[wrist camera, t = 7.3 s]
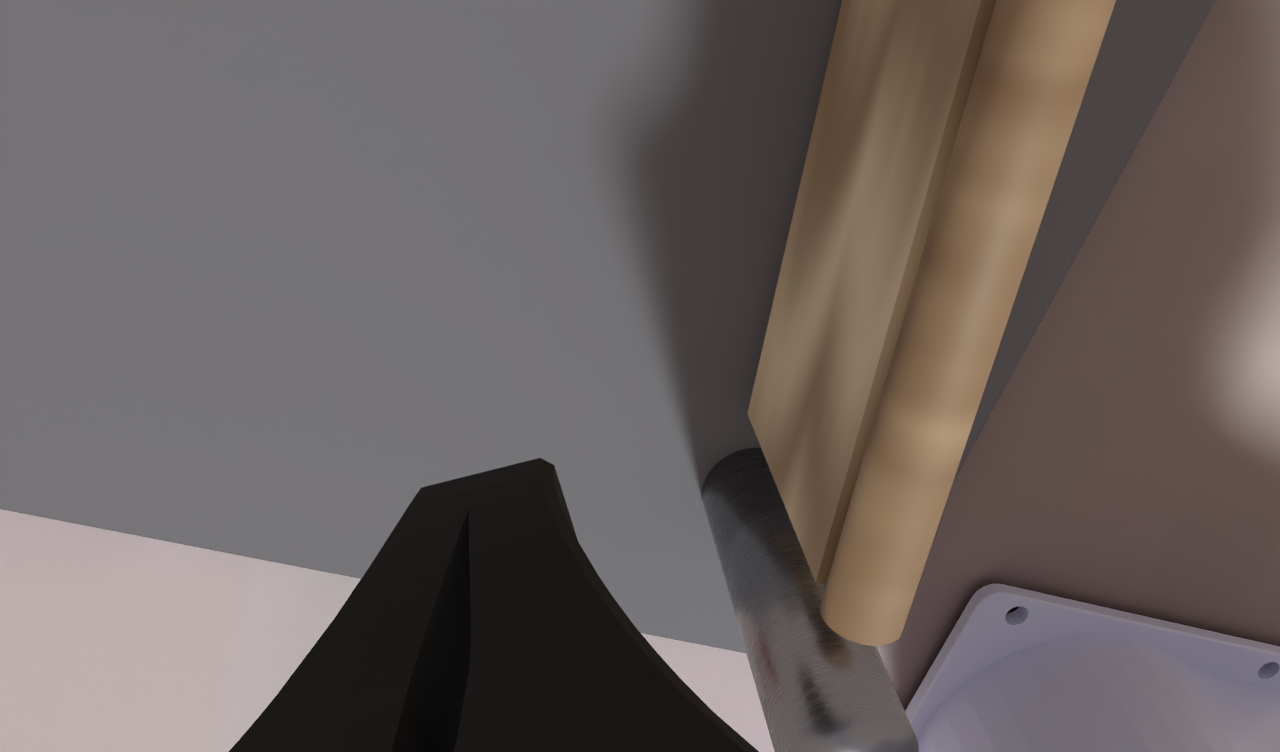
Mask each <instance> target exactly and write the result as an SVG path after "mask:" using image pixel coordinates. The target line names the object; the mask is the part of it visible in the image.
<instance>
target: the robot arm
mask: <svg viewBox="0 0 1280 752" xmlns="http://www.w3.org/2000/svg"><path fill="white" fill-rule="evenodd" d="M1018 606H1019V607H1018ZM1014 607H1018V608H1017V609H1016V611H1013V612H1011V613H1007V612H1008V611H1009V610H1010V609H1012V608H1014ZM905 713H906V715H907V717H908V720H909V722H910V724H911V726H912V729H913V731H914V733H915V735H916V738H917V740H918V746H919V752H1280V646H1275V645H1271V644H1266V643H1262V642H1257V641H1253V640H1249V639H1244V638H1240V637H1235V636H1231V635H1226V634H1222V633H1217V632H1213V631H1209V630H1204V629H1200V628H1195V627H1191V626H1186V625H1182V624H1177V623H1173V622H1169V621H1164V620H1160V619H1155V618H1151V617H1146V616H1142V615H1137V614H1133V613H1129V612H1124V611H1120V610H1115V609H1111V608H1106V607H1102V606H1097V605H1093V604H1089V603H1084V602H1080V601H1075V600H1071V599H1066V598H1062V597H1057V596H1053V595H1049V594H1044V593H1040V592H1035V591H1031V590H1026V589H1022V588H1017V587H1013V586H1009V585H1004V584H990V585H986V586H984V587H982V588H980V589H979V590H977V591H976V593H975V594H974V595H973V596H972V597H971V599H970V601H969V602H968V604H967V606H966V608H965V609H964V611H963V613H962V614H961V616H960V618H959V620H958V621H957V623H956V625H955V626H954V628H953V630H952V632H951V633H950V635H949V637H948V638H947V640H946V642H945V644H944V645H943V647H942V649H941V650H940V652H939V654H938V656H937V657H936V659H935V661H934V662H933V664H932V666H931V668H930V669H929V671H928V673H927V674H926V676H925V678H924V679H923V681H922V683H921V685H920V686H919V688H918V690H917V691H916V693H915V695H914V697H913V698H912V700H911V702H910V703H909V705H908V707H907V709H906V710H905ZM229 752H759V751H757V750H756V749H755V748H754V747H753V746H752V745H750V744H749V743H748V742H747V741H746V740H745V739H744V738H742V737H741V736H740V735H739V734H738V733H737V732H736V731H734V730H733V729H732V728H731V727H730V726H729V725H727V724H726V723H725V722H724V721H723V720H722V719H721V718H719V717H718V716H717V715H716V714H715V713H714V712H713V711H712V710H711V709H710V708H709V707H708V706H707V705H706V704H705V703H704V702H703V701H702V700H701V699H700V698H699V697H698V696H697V695H696V694H695V693H694V692H693V691H692V690H691V689H690V688H689V687H688V686H687V685H686V684H685V683H684V682H683V681H682V680H681V679H680V678H679V677H678V676H677V675H676V673H675V672H674V671H673V670H672V669H671V668H670V667H669V666H668V665H667V663H666V662H665V661H664V660H663V659H662V658H661V657H660V656H659V655H658V653H657V652H656V651H655V650H654V649H653V648H652V646H651V645H650V644H649V643H648V642H647V640H646V639H645V638H644V637H643V636H642V634H641V633H640V632H639V631H638V629H637V628H636V627H635V626H634V624H633V623H632V622H631V621H630V619H629V618H628V616H627V615H626V614H625V612H624V611H623V610H622V608H621V607H620V606H619V604H618V603H617V602H616V600H615V599H614V597H613V596H612V595H611V593H610V592H609V590H608V589H607V587H606V586H605V584H604V583H603V581H602V580H601V578H600V577H599V575H598V574H597V572H596V571H595V569H594V567H593V566H592V564H591V562H590V560H589V559H588V557H587V555H586V554H585V552H584V550H583V549H582V547H581V545H580V544H579V542H578V539H577V536H576V533H575V530H574V527H573V524H572V520H571V517H570V514H569V511H568V508H567V504H566V501H565V498H564V495H563V492H562V489H561V485H560V482H559V479H558V476H557V473H556V469H555V466H554V465H553V464H551V463H549V462H547V461H546V460H544V459H542V458H537V459H533V460H529V461H525V462H521V463H517V464H513V465H509V466H505V467H501V468H497V469H493V470H489V471H485V472H481V473H477V474H473V475H469V476H465V477H461V478H457V479H453V480H449V481H445V482H442V483H438V484H434V485H430V486H426V487H422V488H421V489H420V490H419V491H418V493H417V494H416V496H415V497H414V499H413V500H412V502H411V503H410V505H409V506H408V508H407V509H406V511H405V512H404V514H403V515H402V517H401V519H400V520H399V522H398V523H397V525H396V526H395V528H394V529H393V531H392V532H391V534H390V536H389V537H388V539H387V540H386V542H385V543H384V545H383V546H382V548H381V550H380V551H379V553H378V554H377V556H376V557H375V559H374V560H373V562H372V563H371V565H370V567H369V568H368V570H367V571H366V573H365V574H364V576H363V577H362V579H361V580H360V582H359V583H358V585H357V586H356V588H355V589H354V591H353V592H352V594H351V595H350V597H349V598H348V599H347V601H346V602H345V604H344V605H343V607H342V608H341V610H340V611H339V613H338V614H337V616H336V617H335V619H334V620H333V621H332V623H331V624H330V625H329V627H328V628H327V629H326V631H325V632H324V633H323V635H322V636H321V637H320V639H319V640H318V641H317V643H316V644H315V645H314V647H313V648H312V649H311V651H310V652H309V653H308V655H307V656H306V657H305V659H304V660H303V661H302V663H301V664H300V665H299V666H298V668H297V669H296V670H295V672H294V673H293V674H292V676H291V677H290V678H289V680H288V681H287V682H286V684H285V685H284V686H283V688H282V689H281V690H280V692H279V693H278V694H277V696H276V697H275V698H274V699H273V701H272V702H271V703H270V704H269V705H268V707H267V708H266V709H265V710H264V712H263V713H262V714H261V715H260V716H259V718H258V719H257V720H256V721H255V722H254V723H253V725H252V726H251V727H250V728H249V729H248V730H247V732H246V733H245V734H244V735H243V736H242V737H241V739H240V740H239V741H238V742H237V743H236V744H235V745H234V746H233V748H232V749H231V750H230V751H229Z"/></svg>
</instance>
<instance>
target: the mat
mask: <svg viewBox="0 0 1280 752" xmlns="http://www.w3.org/2000/svg"><path fill="white" fill-rule="evenodd" d="M1214 1H1215V0H1116V2H1115V5H1114V8H1113V11H1112V14H1111V17H1110V20H1109V23H1108V26H1107V29H1106V32H1105V34H1104V37H1103V40H1102V43H1101V46H1100V49H1099V52H1098V55H1097V58H1096V61H1095V64H1094V67H1093V70H1092V73H1091V76H1090V79H1089V82H1088V85H1087V88H1086V91H1085V94H1084V97H1083V100H1082V102H1081V105H1080V108H1079V111H1078V114H1077V117H1076V120H1075V123H1074V126H1073V129H1072V132H1071V135H1070V138H1069V141H1068V144H1067V147H1066V150H1065V153H1064V156H1063V159H1062V162H1061V165H1060V168H1059V170H1058V173H1057V176H1056V179H1055V182H1054V185H1053V188H1052V191H1051V194H1050V197H1049V200H1048V203H1047V206H1046V209H1045V212H1044V215H1043V218H1042V221H1041V224H1040V227H1039V230H1038V233H1037V235H1036V238H1035V241H1034V244H1033V247H1032V250H1031V253H1030V256H1029V259H1028V262H1027V265H1026V268H1025V271H1024V274H1023V277H1022V280H1021V283H1020V286H1019V289H1018V292H1017V295H1016V298H1015V301H1014V303H1013V306H1012V309H1011V312H1010V315H1009V318H1008V321H1007V324H1006V327H1005V330H1004V333H1003V336H1002V339H1001V342H1000V345H999V348H998V351H997V354H996V357H995V360H994V363H993V366H992V368H991V371H990V374H989V377H988V380H987V383H986V386H985V389H984V392H983V395H982V398H981V401H980V404H979V407H978V410H977V413H976V416H975V419H974V422H973V425H972V428H971V431H970V434H969V436H968V439H967V442H966V445H965V448H964V451H963V454H962V457H961V460H960V463H959V466H958V469H957V472H956V475H957V473H958V472H959V470H960V468H961V466H962V464H963V462H964V461H965V459H966V457H967V455H968V453H969V451H970V450H971V448H972V446H973V444H974V442H975V440H976V439H977V437H978V435H979V433H980V431H981V429H982V427H983V426H984V424H985V422H986V420H987V418H988V416H989V415H990V413H991V411H992V409H993V407H994V405H995V404H996V402H997V400H998V398H999V396H1000V394H1001V393H1002V391H1003V389H1004V387H1005V385H1006V383H1007V382H1008V380H1009V378H1010V376H1011V374H1012V372H1013V371H1014V369H1015V367H1016V365H1017V363H1018V361H1019V359H1020V358H1021V356H1022V354H1023V352H1024V350H1025V348H1026V347H1027V345H1028V343H1029V341H1030V339H1031V337H1032V336H1033V334H1034V332H1035V330H1036V328H1037V326H1038V325H1039V323H1040V321H1041V319H1042V317H1043V315H1044V314H1045V312H1046V310H1047V308H1048V306H1049V304H1050V303H1051V301H1052V299H1053V297H1054V295H1055V293H1056V291H1057V290H1058V288H1059V286H1060V284H1061V282H1062V280H1063V279H1064V277H1065V275H1066V273H1067V271H1068V269H1069V268H1070V266H1071V264H1072V262H1073V260H1074V258H1075V257H1076V255H1077V253H1078V251H1079V249H1080V247H1081V246H1082V244H1083V242H1084V240H1085V238H1086V236H1087V235H1088V233H1089V231H1090V229H1091V227H1092V225H1093V223H1094V222H1095V220H1096V218H1097V216H1098V214H1099V212H1100V211H1101V209H1102V207H1103V205H1104V203H1105V201H1106V200H1107V198H1108V196H1109V194H1110V192H1111V190H1112V189H1113V187H1114V185H1115V183H1116V181H1117V179H1118V178H1119V176H1120V174H1121V172H1122V170H1123V168H1124V167H1125V165H1126V163H1127V161H1128V159H1129V157H1130V155H1131V154H1132V152H1133V150H1134V148H1135V146H1136V144H1137V143H1138V141H1139V139H1140V137H1141V135H1142V133H1143V132H1144V130H1145V128H1146V126H1147V124H1148V122H1149V121H1150V119H1151V117H1152V115H1153V113H1154V111H1155V110H1156V108H1157V106H1158V104H1159V102H1160V100H1161V99H1162V97H1163V95H1164V93H1165V91H1166V89H1167V87H1168V86H1169V84H1170V82H1171V80H1172V78H1173V76H1174V75H1175V73H1176V71H1177V69H1178V67H1179V65H1180V64H1181V62H1182V60H1183V58H1184V56H1185V54H1186V53H1187V51H1188V49H1189V47H1190V45H1191V43H1192V42H1193V40H1194V38H1195V36H1196V34H1197V32H1198V31H1199V29H1200V27H1201V25H1202V23H1203V21H1204V19H1205V18H1206V16H1207V14H1208V12H1209V10H1210V8H1211V7H1212V5H1213V3H1214ZM841 4H842V0H0V509H3V510H8V511H14V512H19V513H24V514H29V515H34V516H39V517H45V518H50V519H55V520H60V521H65V522H70V523H76V524H81V525H86V526H91V527H96V528H101V529H107V530H112V531H117V532H122V533H127V534H132V535H138V536H143V537H148V538H153V539H158V540H163V541H169V542H174V543H179V544H184V545H189V546H194V547H200V548H205V549H210V550H215V551H220V552H225V553H231V554H236V555H241V556H246V557H251V558H257V559H262V560H267V561H272V562H277V563H282V564H288V565H293V566H298V567H303V568H308V569H313V570H319V571H324V572H329V573H334V574H339V575H344V576H350V577H355V578H360V579H362V577H363V576H364V574H365V573H366V571H367V570H368V568H369V567H370V565H371V563H372V562H373V560H374V559H375V557H376V556H377V554H378V553H379V551H380V550H381V548H382V546H383V545H384V543H385V542H386V540H387V539H388V537H389V536H390V534H391V532H392V531H393V529H394V528H395V526H396V525H397V523H398V522H399V520H400V519H401V517H402V515H403V514H404V512H405V511H406V509H407V508H408V506H409V505H410V503H411V502H412V500H413V499H414V497H415V496H416V494H417V493H418V491H419V490H420V489H421V488H422V487H426V486H430V485H434V484H438V483H442V482H445V481H449V480H453V479H457V478H461V477H465V476H469V475H473V474H477V473H481V472H485V471H489V470H493V469H497V468H501V467H505V466H509V465H513V464H517V463H521V462H525V461H529V460H533V459H537V458H542V459H544V460H546V461H547V462H549V463H551V464H553V465H554V466H555V469H556V473H557V476H558V479H559V482H560V485H561V489H562V492H563V495H564V498H565V501H566V504H567V508H568V511H569V514H570V517H571V520H572V524H573V527H574V530H575V533H576V536H577V539H578V542H579V544H580V545H581V547H582V549H583V550H584V552H585V554H586V555H587V557H588V559H589V560H590V562H591V564H592V566H593V567H594V569H595V571H596V572H597V574H598V575H599V577H600V578H601V580H602V581H603V583H604V584H605V586H606V587H607V589H608V590H609V592H610V593H611V595H612V596H613V597H614V599H615V600H616V602H617V603H618V604H619V606H620V607H621V608H622V610H623V611H624V612H625V614H626V615H627V616H628V618H629V619H630V621H631V622H632V623H633V624H634V626H635V627H636V628H637V629H638V631H639V632H640V633H644V634H649V635H655V636H660V637H665V638H670V639H675V640H680V641H686V642H691V643H696V644H701V645H706V646H711V647H717V648H722V649H727V650H732V651H737V652H742V653H746V650H745V646H744V643H743V639H742V636H741V632H740V629H739V625H738V622H737V619H736V615H735V612H734V608H733V605H732V601H731V598H730V594H729V591H728V587H727V584H726V581H725V577H724V574H723V570H722V567H721V563H720V560H719V556H718V553H717V549H716V546H715V542H714V539H713V536H712V532H711V529H710V525H709V522H708V518H707V515H706V511H705V508H704V504H703V500H702V489H703V485H704V482H705V479H706V477H707V475H708V474H709V472H710V471H711V469H712V468H713V467H714V466H715V465H716V464H717V463H718V462H719V461H720V460H722V459H723V458H725V457H726V456H728V455H730V454H732V453H734V452H737V451H740V450H743V449H748V448H761V446H760V444H759V441H758V439H757V436H756V434H755V431H754V429H753V426H752V424H751V422H750V419H749V417H748V414H747V413H748V409H749V404H750V400H751V396H752V391H753V387H754V383H755V378H756V374H757V370H758V365H759V361H760V357H761V352H762V348H763V343H764V339H765V335H766V330H767V326H768V322H769V317H770V313H771V309H772V304H773V300H774V296H775V291H776V287H777V282H778V278H779V274H780V269H781V265H782V261H783V256H784V252H785V248H786V243H787V239H788V235H789V230H790V226H791V222H792V217H793V213H794V208H795V204H796V200H797V195H798V191H799V187H800V182H801V178H802V174H803V169H804V165H805V161H806V156H807V152H808V147H809V143H810V139H811V134H812V130H813V126H814V121H815V117H816V113H817V108H818V104H819V100H820V95H821V91H822V87H823V82H824V78H825V73H826V69H827V65H828V60H829V56H830V52H831V47H832V43H833V39H834V34H835V30H836V26H837V21H838V17H839V12H840V8H841ZM956 475H955V477H956ZM954 479H955V478H954Z"/></svg>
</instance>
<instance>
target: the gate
mask: <svg viewBox="0 0 1280 752" xmlns="http://www.w3.org/2000/svg"><path fill="white" fill-rule="evenodd" d="M1115 2H1116V0H842V4H841V8H840V12H839V17H838V21H837V26H836V30H835V34H834V39H833V43H832V47H831V52H830V56H829V60H828V65H827V69H826V73H825V78H824V82H823V87H822V91H821V95H820V100H819V104H818V108H817V113H816V117H815V121H814V126H813V130H812V134H811V139H810V143H809V147H808V152H807V156H806V161H805V165H804V169H803V174H802V178H801V182H800V187H799V191H798V195H797V200H796V204H795V208H794V213H793V217H792V222H791V226H790V230H789V235H788V239H787V243H786V248H785V252H784V256H783V261H782V265H781V269H780V274H779V278H778V282H777V287H776V291H775V296H774V300H773V304H772V309H771V313H770V317H769V322H768V326H767V330H766V335H765V339H764V343H763V348H762V352H761V357H760V361H759V365H758V370H757V374H756V378H755V383H754V387H753V391H752V396H751V400H750V404H749V409H748V413H747V414H748V417H749V419H750V422H751V424H752V426H753V429H754V431H755V434H756V436H757V439H758V441H759V444H760V446H761V449H762V451H763V454H764V456H765V459H766V461H767V463H768V466H769V468H770V471H771V473H772V476H773V478H774V481H775V483H776V486H777V488H778V491H779V493H780V496H781V498H782V501H783V503H784V505H785V508H786V510H787V513H788V515H789V518H790V520H791V523H792V525H793V528H794V530H795V533H796V535H797V538H798V540H799V542H800V545H801V547H802V550H803V552H804V555H805V557H806V560H807V562H808V565H809V567H810V570H811V572H812V575H813V577H814V580H815V582H819V583H827V584H826V587H825V591H824V594H823V598H822V601H821V605H820V613H821V616H822V618H823V620H824V621H825V623H826V624H827V625H828V626H829V627H830V628H831V629H832V630H833V631H835V632H836V633H837V634H839V635H840V636H842V637H844V638H846V639H848V640H850V641H853V642H856V643H859V644H863V645H868V646H884V645H888V644H891V643H893V642H895V641H896V640H898V639H899V638H900V636H901V634H902V632H903V629H904V626H905V623H906V620H907V617H908V614H909V611H910V608H911V605H912V602H913V599H914V596H915V593H916V590H917V587H918V584H919V581H920V578H921V575H922V572H923V569H924V567H925V564H926V561H927V558H928V555H929V552H930V549H931V546H932V543H933V540H934V537H935V534H936V531H937V528H938V525H939V522H940V519H941V516H942V513H943V510H944V507H945V504H946V502H947V499H948V496H949V493H950V490H951V487H952V484H953V481H954V478H955V475H956V472H957V469H958V466H959V463H960V460H961V457H962V454H963V451H964V448H965V445H966V442H967V439H968V436H969V434H970V431H971V428H972V425H973V422H974V419H975V416H976V413H977V410H978V407H979V404H980V401H981V398H982V395H983V392H984V389H985V386H986V383H987V380H988V377H989V374H990V371H991V368H992V366H993V363H994V360H995V357H996V354H997V351H998V348H999V345H1000V342H1001V339H1002V336H1003V333H1004V330H1005V327H1006V324H1007V321H1008V318H1009V315H1010V312H1011V309H1012V306H1013V303H1014V301H1015V298H1016V295H1017V292H1018V289H1019V286H1020V283H1021V280H1022V277H1023V274H1024V271H1025V268H1026V265H1027V262H1028V259H1029V256H1030V253H1031V250H1032V247H1033V244H1034V241H1035V238H1036V235H1037V233H1038V230H1039V227H1040V224H1041V221H1042V218H1043V215H1044V212H1045V209H1046V206H1047V203H1048V200H1049V197H1050V194H1051V191H1052V188H1053V185H1054V182H1055V179H1056V176H1057V173H1058V170H1059V168H1060V165H1061V162H1062V159H1063V156H1064V153H1065V150H1066V147H1067V144H1068V141H1069V138H1070V135H1071V132H1072V129H1073V126H1074V123H1075V120H1076V117H1077V114H1078V111H1079V108H1080V105H1081V102H1082V100H1083V97H1084V94H1085V91H1086V88H1087V85H1088V82H1089V79H1090V76H1091V73H1092V70H1093V67H1094V64H1095V61H1096V58H1097V55H1098V52H1099V49H1100V46H1101V43H1102V40H1103V37H1104V34H1105V32H1106V29H1107V26H1108V23H1109V20H1110V17H1111V14H1112V11H1113V8H1114V5H1115Z"/></svg>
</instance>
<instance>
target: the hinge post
mask: <svg viewBox="0 0 1280 752" xmlns="http://www.w3.org/2000/svg"><path fill="white" fill-rule="evenodd" d="M702 500H703V504H704V508H705V511H706V515H707V518H708V522H709V525H710V529H711V532H712V536H713V539H714V542H715V546H716V549H717V553H718V556H719V560H720V563H721V567H722V570H723V574H724V577H725V581H726V584H727V587H728V591H729V594H730V598H731V601H732V605H733V608H734V612H735V615H736V619H737V622H738V625H739V629H740V632H741V636H742V639H743V643H744V646H745V650H746V653H747V657H748V660H749V664H750V667H751V670H752V674H753V677H754V681H755V684H756V688H757V691H758V695H759V698H760V702H761V705H762V709H763V712H764V715H765V719H766V722H767V726H768V729H769V733H770V736H771V740H772V743H773V747H774V750H775V752H919V746H918V740H917V738H916V735H915V733H914V731H913V729H912V726H911V724H910V722H909V720H908V717H907V715H906V713H905V711H904V708H903V706H902V704H901V702H900V699H899V697H898V695H897V693H896V690H895V688H894V686H893V684H892V682H891V679H890V677H889V675H888V673H887V670H886V668H885V666H884V664H883V661H882V659H881V657H880V655H879V652H878V650H877V648H876V646H868V645H863V644H859V643H856V642H853V641H850V640H848V639H846V638H844V637H842V636H840V635H839V634H837V633H836V632H835V631H833V630H832V629H831V628H830V627H829V626H828V625H827V624H826V623H825V621H824V620H823V618H822V616H821V613H820V605H821V601H822V598H823V594H824V591H825V587H826V584H827V583H819V582H815V580H814V577H813V575H812V572H811V570H810V567H809V565H808V562H807V560H806V557H805V555H804V552H803V550H802V547H801V545H800V542H799V540H798V538H797V535H796V533H795V530H794V528H793V525H792V523H791V520H790V518H789V515H788V513H787V510H786V508H785V505H784V503H783V501H782V498H781V496H780V493H779V491H778V488H777V486H776V483H775V481H774V478H773V476H772V473H771V471H770V468H769V466H768V463H767V461H766V459H765V456H764V454H763V451H762V449H761V448H748V449H743V450H740V451H737V452H734V453H732V454H730V455H728V456H726V457H725V458H723V459H722V460H720V461H719V462H718V463H717V464H716V465H715V466H714V467H713V468H712V469H711V471H710V472H709V474H708V475H707V477H706V479H705V482H704V485H703V489H702Z"/></svg>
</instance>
